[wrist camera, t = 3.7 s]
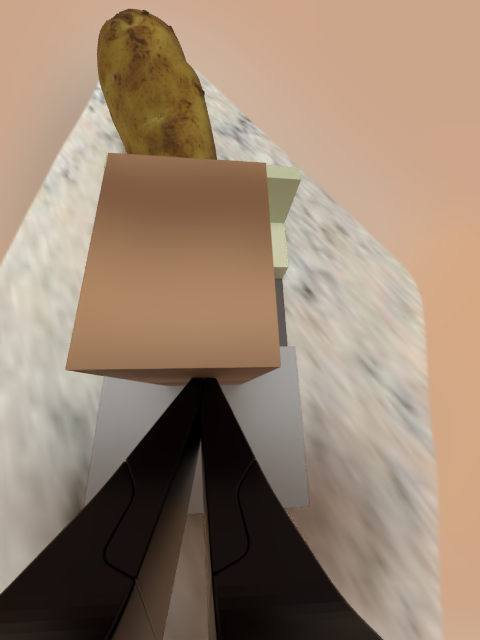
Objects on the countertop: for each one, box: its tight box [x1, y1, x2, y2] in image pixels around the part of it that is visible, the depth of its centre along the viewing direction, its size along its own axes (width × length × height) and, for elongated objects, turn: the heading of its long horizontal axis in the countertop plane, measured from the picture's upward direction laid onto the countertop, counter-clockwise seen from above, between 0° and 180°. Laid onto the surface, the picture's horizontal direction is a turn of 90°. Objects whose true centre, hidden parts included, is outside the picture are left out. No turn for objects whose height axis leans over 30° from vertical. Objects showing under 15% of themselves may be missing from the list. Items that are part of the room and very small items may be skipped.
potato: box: [97, 9, 217, 160], centre depth 18 cm, size 8×13×8 cm, turn 8°
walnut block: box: [65, 153, 281, 386], centre depth 11 cm, size 6×4×10 cm
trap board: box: [84, 155, 310, 514], centre depth 15 cm, size 20×12×6 cm, turn 1°
